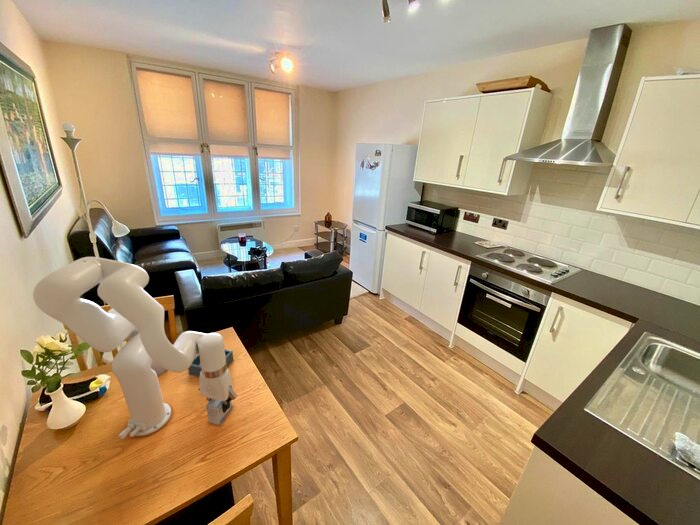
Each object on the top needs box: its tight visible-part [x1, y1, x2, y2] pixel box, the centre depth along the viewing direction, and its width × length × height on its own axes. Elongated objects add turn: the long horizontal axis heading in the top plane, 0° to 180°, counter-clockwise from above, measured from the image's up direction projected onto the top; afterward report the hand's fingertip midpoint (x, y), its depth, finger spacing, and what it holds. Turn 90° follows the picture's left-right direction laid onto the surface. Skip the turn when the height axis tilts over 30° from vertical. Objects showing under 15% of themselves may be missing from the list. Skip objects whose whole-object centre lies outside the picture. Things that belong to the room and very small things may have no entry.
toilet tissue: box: [151, 360, 167, 377], centre depth 122 cm, size 9×13×9 cm
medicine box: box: [205, 399, 233, 426], centre depth 102 cm, size 8×4×9 cm, turn 168°
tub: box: [187, 349, 234, 377], centre depth 124 cm, size 13×13×5 cm
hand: (219, 407), depth 103 cm, fingers closed on medicine box, 4 cm apart
